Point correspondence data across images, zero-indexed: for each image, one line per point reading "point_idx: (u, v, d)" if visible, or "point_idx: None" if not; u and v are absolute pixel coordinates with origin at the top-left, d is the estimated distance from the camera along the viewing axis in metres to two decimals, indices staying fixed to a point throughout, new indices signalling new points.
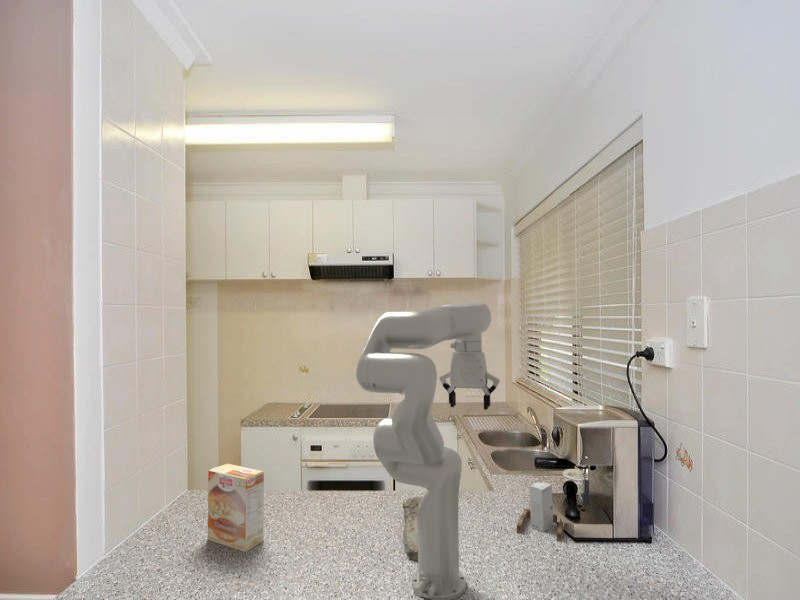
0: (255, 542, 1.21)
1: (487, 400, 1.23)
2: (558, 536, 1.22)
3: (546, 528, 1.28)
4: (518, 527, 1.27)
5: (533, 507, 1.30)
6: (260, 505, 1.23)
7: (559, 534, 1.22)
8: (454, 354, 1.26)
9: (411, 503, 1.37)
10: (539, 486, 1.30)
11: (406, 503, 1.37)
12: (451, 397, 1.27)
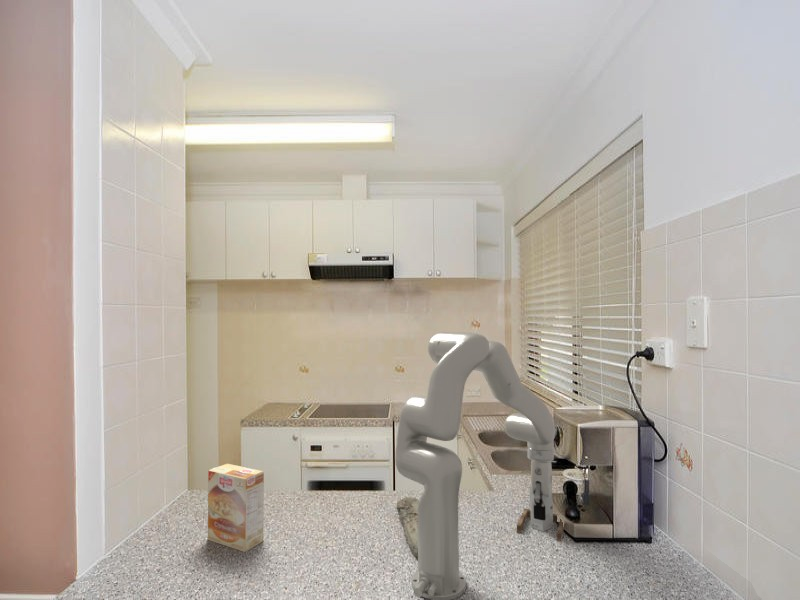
0: (255, 542, 1.21)
1: None
2: (558, 536, 1.22)
3: (546, 528, 1.28)
4: (518, 527, 1.27)
5: (533, 507, 1.30)
6: (260, 505, 1.23)
7: (559, 534, 1.22)
8: (547, 464, 1.28)
9: (405, 504, 1.37)
10: None
11: (401, 504, 1.36)
12: None
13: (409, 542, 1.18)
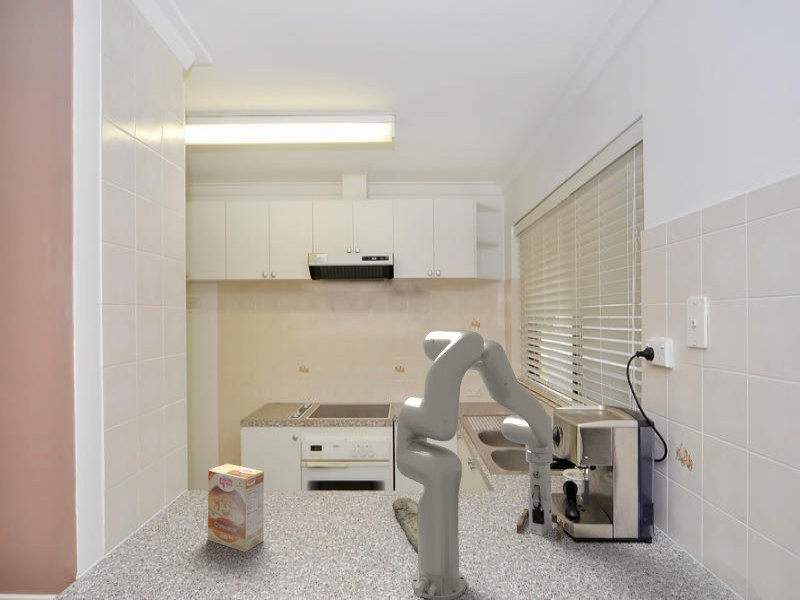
0: (255, 542, 1.21)
1: None
2: (558, 536, 1.22)
3: (544, 532, 1.26)
4: (518, 527, 1.27)
5: None
6: (260, 505, 1.23)
7: (559, 534, 1.22)
8: (545, 467, 1.25)
9: (402, 504, 1.36)
10: None
11: (398, 505, 1.35)
12: (543, 514, 1.24)
13: (414, 542, 1.18)
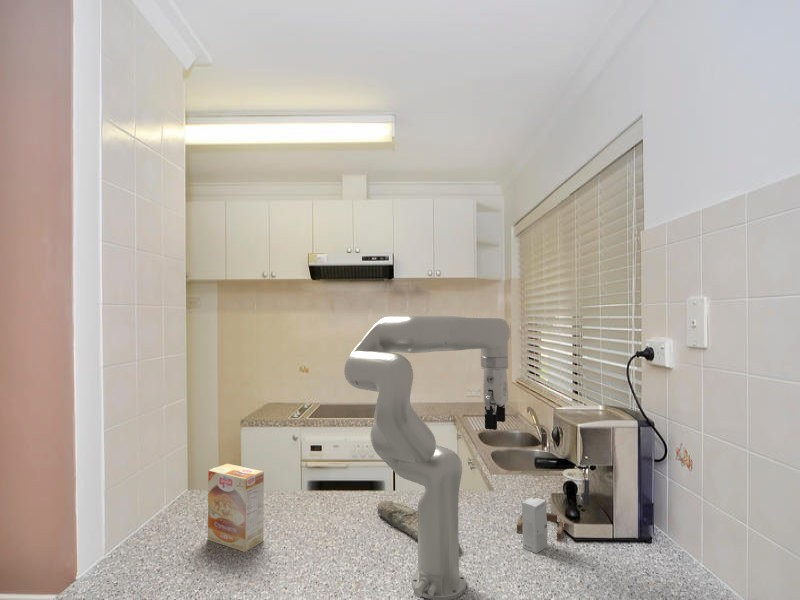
0: (255, 542, 1.21)
1: None
2: (558, 536, 1.22)
3: (539, 549, 1.17)
4: (518, 527, 1.27)
5: (525, 526, 1.18)
6: (260, 505, 1.23)
7: (559, 534, 1.22)
8: (500, 371, 1.19)
9: (394, 507, 1.34)
10: (532, 503, 1.19)
11: (391, 509, 1.33)
12: (496, 418, 1.17)
13: None
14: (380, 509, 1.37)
